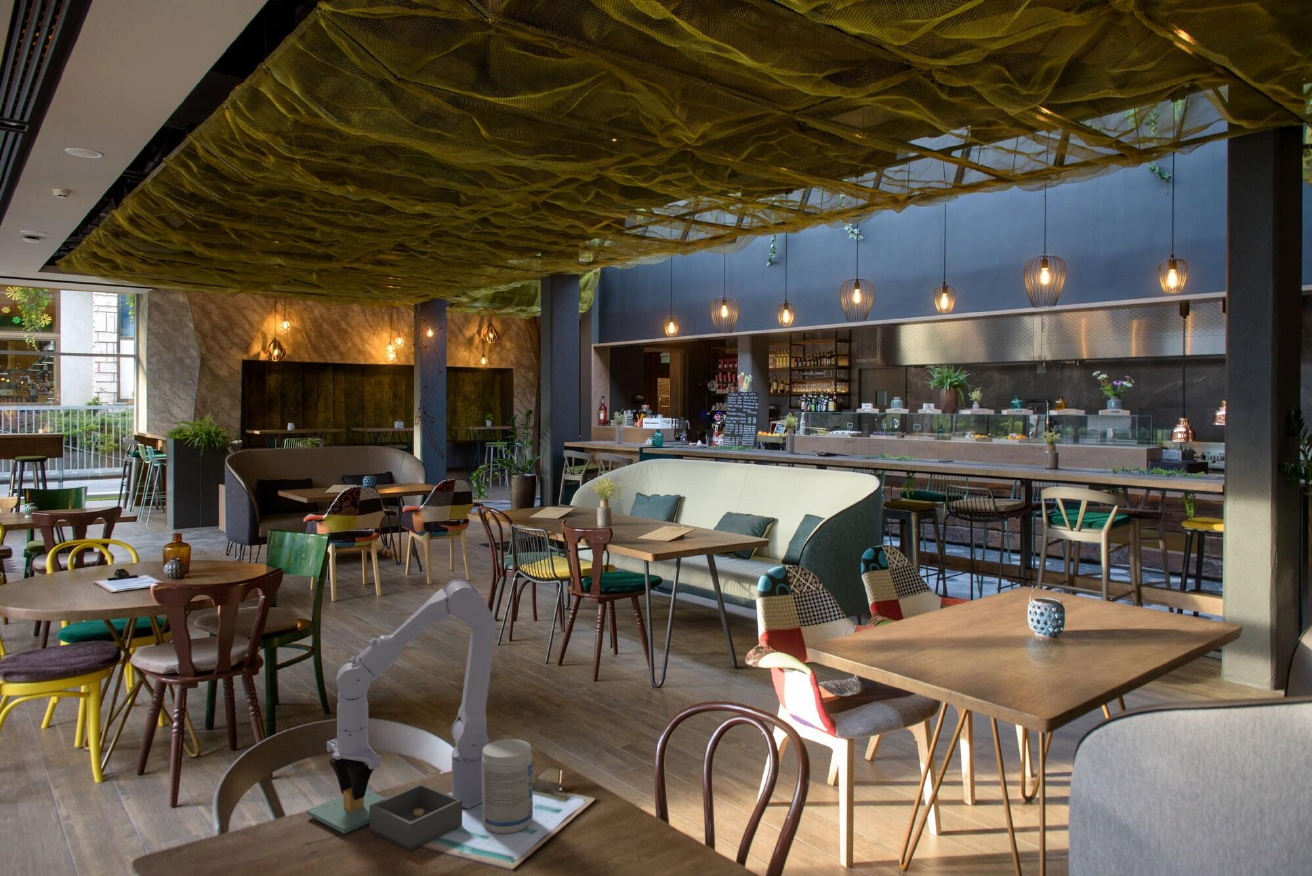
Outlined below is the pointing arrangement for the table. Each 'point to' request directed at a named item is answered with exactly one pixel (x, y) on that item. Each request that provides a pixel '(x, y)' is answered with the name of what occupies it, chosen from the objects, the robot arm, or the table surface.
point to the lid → (345, 811)
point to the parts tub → (415, 816)
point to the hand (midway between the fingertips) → (353, 795)
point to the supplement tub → (507, 786)
